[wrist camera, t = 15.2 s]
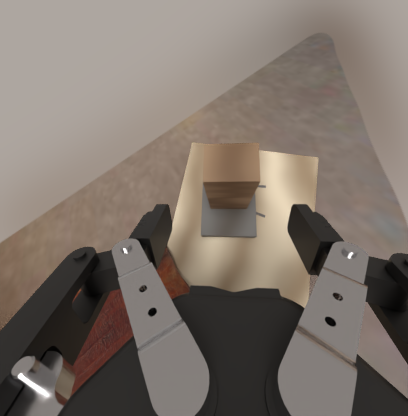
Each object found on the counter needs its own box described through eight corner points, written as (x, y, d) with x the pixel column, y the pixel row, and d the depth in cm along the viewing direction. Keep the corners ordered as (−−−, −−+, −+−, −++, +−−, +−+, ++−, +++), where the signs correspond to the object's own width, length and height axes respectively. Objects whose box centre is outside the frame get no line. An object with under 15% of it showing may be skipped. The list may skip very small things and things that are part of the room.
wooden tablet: (156, 229, 23) (150, 227, 21) (206, 302, 19) (203, 306, 18) (-17, 369, 22) (-37, 378, 21) (4, 468, 19) (-18, 488, 17)
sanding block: (202, 236, 22) (186, 223, 12) (204, 166, 24) (192, 111, 15) (254, 237, 21) (278, 224, 12) (252, 165, 23) (270, 107, 14)
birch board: (149, 333, 21) (144, 339, 20) (194, 148, 26) (192, 142, 25) (296, 376, 19) (302, 386, 17) (312, 163, 24) (318, 157, 22)
